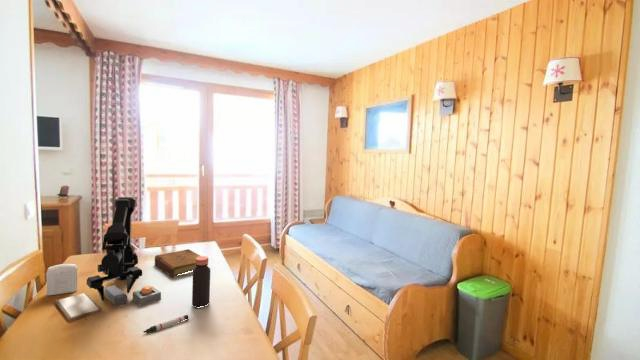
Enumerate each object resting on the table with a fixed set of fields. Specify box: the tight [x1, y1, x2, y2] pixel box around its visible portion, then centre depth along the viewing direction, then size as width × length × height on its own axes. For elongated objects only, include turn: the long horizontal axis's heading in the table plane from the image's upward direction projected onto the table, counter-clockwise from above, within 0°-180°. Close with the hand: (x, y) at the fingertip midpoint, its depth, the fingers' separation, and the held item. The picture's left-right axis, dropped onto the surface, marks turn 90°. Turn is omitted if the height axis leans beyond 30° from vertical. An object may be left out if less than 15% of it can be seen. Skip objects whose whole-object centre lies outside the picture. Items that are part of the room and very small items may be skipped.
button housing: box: [132, 286, 162, 306], centre depth 132 cm, size 8×8×3 cm
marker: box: [142, 314, 190, 334], centre depth 113 cm, size 15×2×2 cm, turn 136°
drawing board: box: [54, 292, 103, 323], centre depth 122 cm, size 10×20×1 cm, turn 52°
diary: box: [154, 248, 201, 278], centre depth 169 cm, size 23×19×6 cm
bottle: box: [191, 255, 211, 307], centre depth 129 cm, size 7×7×20 cm
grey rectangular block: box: [104, 284, 128, 308], centre depth 129 cm, size 4×14×4 cm, turn 52°
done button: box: [140, 285, 152, 296], centre depth 131 cm, size 4×4×2 cm
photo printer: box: [46, 263, 79, 296], centre depth 133 cm, size 10×4×12 cm, turn 123°
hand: (115, 296), depth 129 cm, fingers open, 9 cm apart
